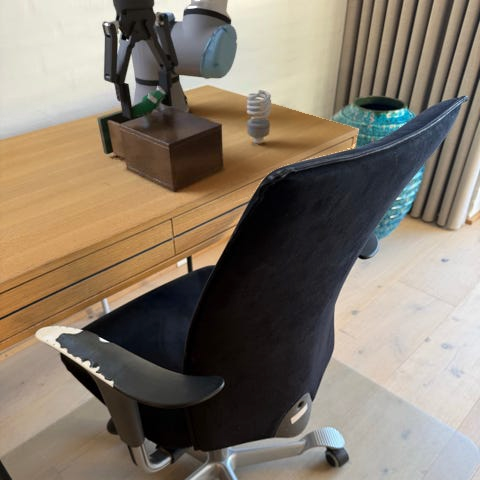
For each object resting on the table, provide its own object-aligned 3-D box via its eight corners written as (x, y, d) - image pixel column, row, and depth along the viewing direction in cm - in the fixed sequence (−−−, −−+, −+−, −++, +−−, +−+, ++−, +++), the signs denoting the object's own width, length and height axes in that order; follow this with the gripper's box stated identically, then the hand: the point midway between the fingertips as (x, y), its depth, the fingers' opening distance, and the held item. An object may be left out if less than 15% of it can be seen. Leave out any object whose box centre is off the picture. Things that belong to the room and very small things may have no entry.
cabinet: (126, 169, 104) (118, 124, 98) (176, 150, 112) (171, 106, 105) (173, 192, 96) (168, 144, 90) (223, 169, 104) (221, 124, 97)
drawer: (91, 147, 111) (84, 112, 106) (136, 131, 118) (131, 98, 113) (143, 171, 101) (138, 134, 96) (189, 153, 108) (186, 117, 103)
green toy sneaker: (140, 127, 99) (157, 107, 95) (126, 113, 97) (142, 92, 94) (155, 112, 105) (171, 93, 102) (142, 99, 104) (158, 79, 100)
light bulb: (259, 137, 117) (260, 85, 109) (274, 144, 114) (276, 91, 106) (241, 143, 115) (241, 90, 107) (256, 150, 111) (257, 96, 103)
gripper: (90, -10, 77) (115, 129, 92) (190, -23, 89) (198, 102, 104) (65, -14, 81) (93, 120, 96) (165, -26, 93) (176, 94, 108)
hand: (148, 110), depth 100 cm, fingers closed on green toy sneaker, 10 cm apart
